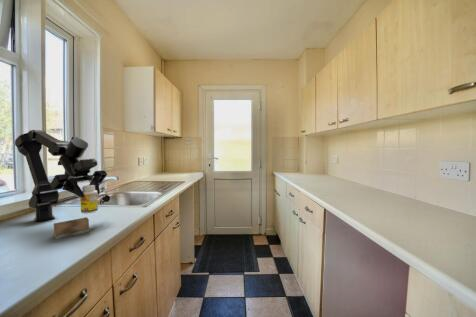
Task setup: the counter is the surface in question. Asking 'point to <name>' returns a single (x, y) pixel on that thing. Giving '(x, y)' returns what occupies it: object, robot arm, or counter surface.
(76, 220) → the block
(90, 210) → the supplement bottle
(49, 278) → the counter surface
